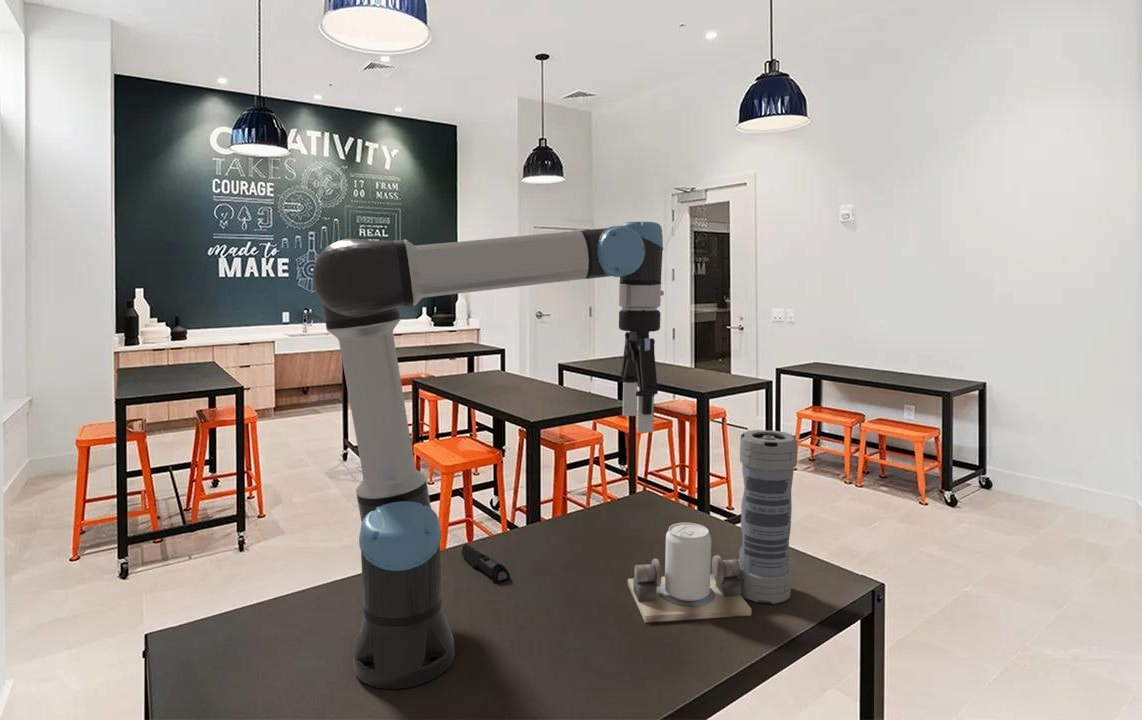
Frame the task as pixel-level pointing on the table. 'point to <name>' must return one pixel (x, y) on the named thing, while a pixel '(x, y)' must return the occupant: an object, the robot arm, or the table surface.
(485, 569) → the electric trimmer
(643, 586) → the cradle
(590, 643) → the table surface
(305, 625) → the table surface
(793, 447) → the canister
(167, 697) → the table surface
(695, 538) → the beverage can
